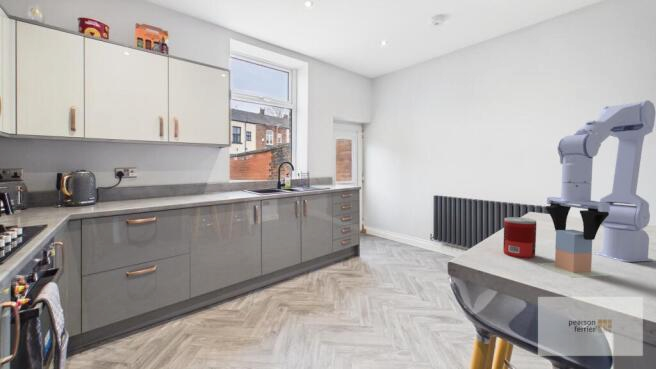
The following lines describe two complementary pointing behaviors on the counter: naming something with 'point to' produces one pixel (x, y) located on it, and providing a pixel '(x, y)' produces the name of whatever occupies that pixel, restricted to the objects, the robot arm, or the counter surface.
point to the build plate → (570, 274)
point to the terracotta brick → (573, 261)
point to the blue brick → (572, 242)
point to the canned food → (519, 237)
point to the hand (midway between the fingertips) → (573, 235)
